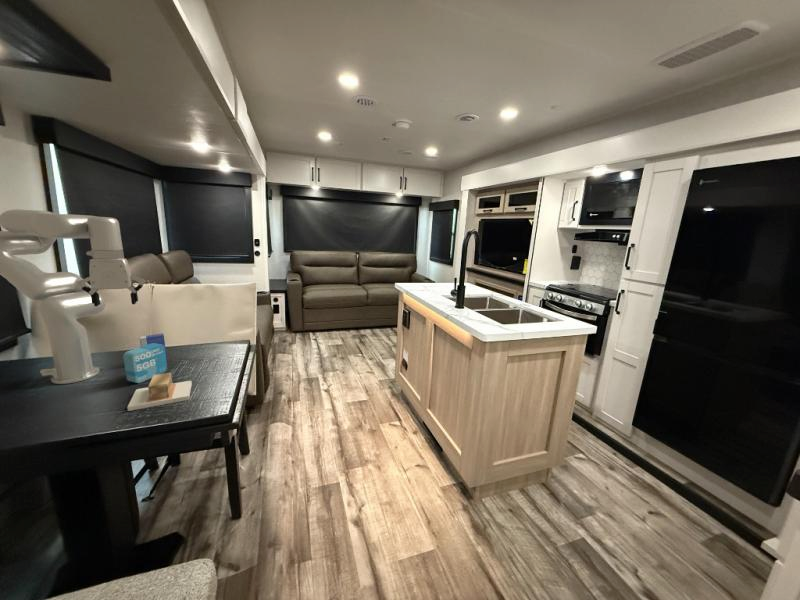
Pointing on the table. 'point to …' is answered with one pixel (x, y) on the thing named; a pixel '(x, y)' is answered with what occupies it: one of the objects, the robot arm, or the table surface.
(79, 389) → the table surface
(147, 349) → the data package
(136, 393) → the plate
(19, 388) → the table surface
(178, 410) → the table surface
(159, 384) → the tan cardboard box
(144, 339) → the walkman
